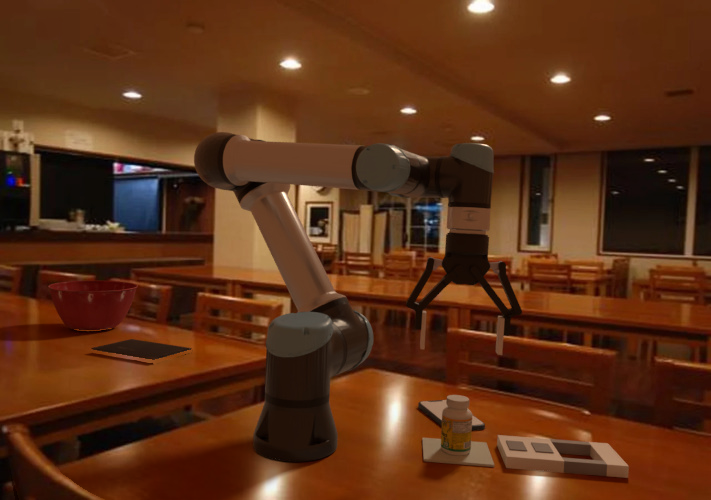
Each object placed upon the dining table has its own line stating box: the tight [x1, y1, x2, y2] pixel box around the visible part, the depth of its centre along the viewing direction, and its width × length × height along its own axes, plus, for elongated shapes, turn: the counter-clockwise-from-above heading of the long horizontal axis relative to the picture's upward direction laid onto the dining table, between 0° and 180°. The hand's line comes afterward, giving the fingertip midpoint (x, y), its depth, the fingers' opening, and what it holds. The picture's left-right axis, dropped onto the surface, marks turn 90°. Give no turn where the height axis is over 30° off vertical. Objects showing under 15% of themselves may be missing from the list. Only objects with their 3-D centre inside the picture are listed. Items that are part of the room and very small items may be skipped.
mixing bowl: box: [47, 280, 139, 330], centre depth 197 cm, size 28×28×15 cm
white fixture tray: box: [496, 434, 630, 479], centre depth 100 cm, size 20×10×2 cm, turn 85°
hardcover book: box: [90, 338, 193, 360], centre depth 165 cm, size 16×23×2 cm
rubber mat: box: [421, 437, 495, 468], centre depth 102 cm, size 12×10×1 cm
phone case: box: [417, 399, 486, 431], centre depth 121 cm, size 9×2×16 cm
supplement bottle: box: [440, 394, 473, 456], centre depth 101 cm, size 5×5×10 cm
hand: (460, 350), depth 101 cm, fingers open, 13 cm apart
